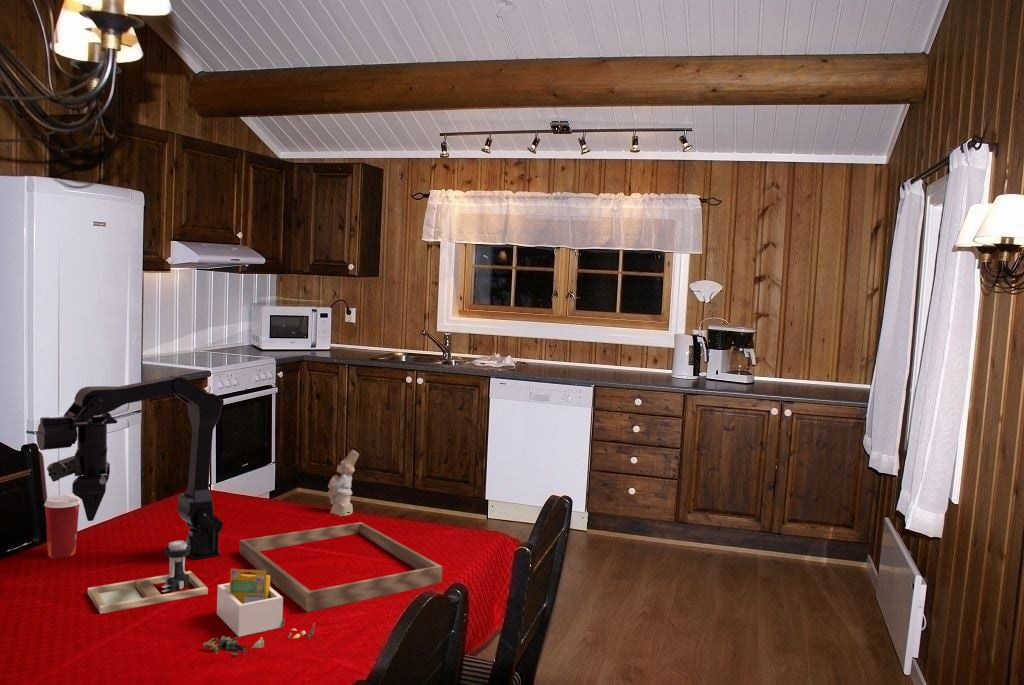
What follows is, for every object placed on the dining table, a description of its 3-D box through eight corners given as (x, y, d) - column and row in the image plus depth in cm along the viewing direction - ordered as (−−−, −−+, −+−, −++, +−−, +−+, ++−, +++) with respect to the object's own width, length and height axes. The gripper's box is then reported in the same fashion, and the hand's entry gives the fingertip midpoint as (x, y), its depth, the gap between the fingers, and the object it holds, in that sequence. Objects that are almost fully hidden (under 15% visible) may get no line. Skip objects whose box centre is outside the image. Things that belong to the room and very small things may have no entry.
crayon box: (269, 621, 164) (271, 565, 163) (265, 628, 161) (267, 570, 160) (233, 620, 164) (234, 563, 163) (228, 626, 161) (229, 569, 160)
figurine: (361, 516, 238) (364, 449, 237) (349, 524, 230) (352, 454, 229) (333, 513, 240) (336, 446, 239) (320, 520, 232) (323, 451, 231)
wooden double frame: (190, 576, 184) (190, 570, 184) (207, 593, 175) (207, 588, 175) (87, 593, 171) (87, 587, 171) (100, 613, 162) (100, 607, 162)
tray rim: (360, 536, 219) (361, 522, 219) (441, 583, 188) (442, 566, 188) (239, 556, 199) (240, 540, 199) (307, 612, 168) (308, 593, 167)
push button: (171, 596, 172) (172, 550, 172) (152, 591, 174) (153, 546, 174) (195, 586, 178) (196, 542, 178) (176, 582, 180) (177, 537, 180)
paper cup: (87, 553, 195) (88, 496, 194) (60, 563, 188) (61, 503, 187) (62, 548, 198) (63, 492, 197) (34, 558, 191) (35, 499, 190)
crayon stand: (258, 605, 170) (259, 577, 169) (281, 627, 160) (283, 597, 160) (216, 613, 164) (217, 585, 164) (238, 636, 155) (239, 606, 154)
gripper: (55, 438, 183) (55, 506, 184) (44, 455, 166) (44, 530, 167) (110, 436, 187) (110, 502, 189) (105, 453, 170) (105, 526, 171)
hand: (92, 514), depth 179 cm, fingers open, 9 cm apart
